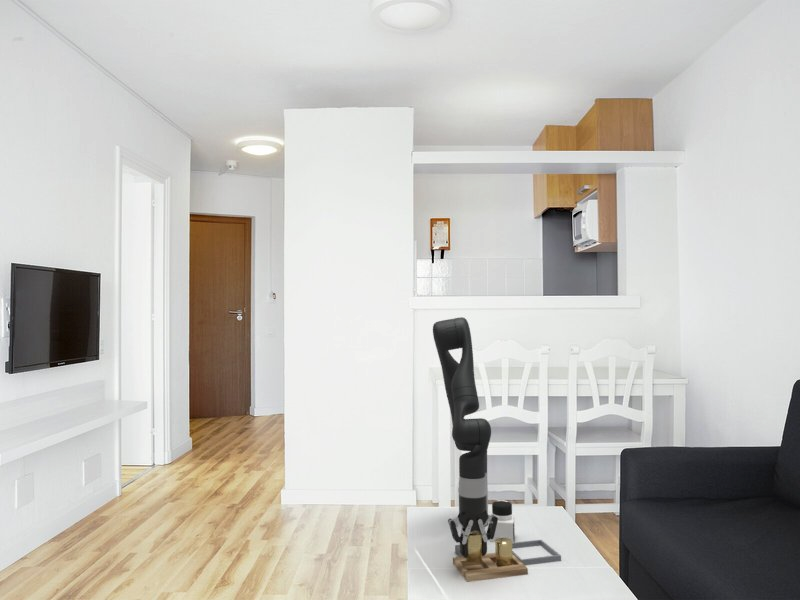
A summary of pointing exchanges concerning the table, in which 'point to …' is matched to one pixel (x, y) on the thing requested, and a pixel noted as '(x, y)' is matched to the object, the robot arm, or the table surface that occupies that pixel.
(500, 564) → the cylinder
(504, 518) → the medicine bottle
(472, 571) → the tray
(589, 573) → the table surface
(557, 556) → the tray
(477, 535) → the cylinder
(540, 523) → the table surface
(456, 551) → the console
